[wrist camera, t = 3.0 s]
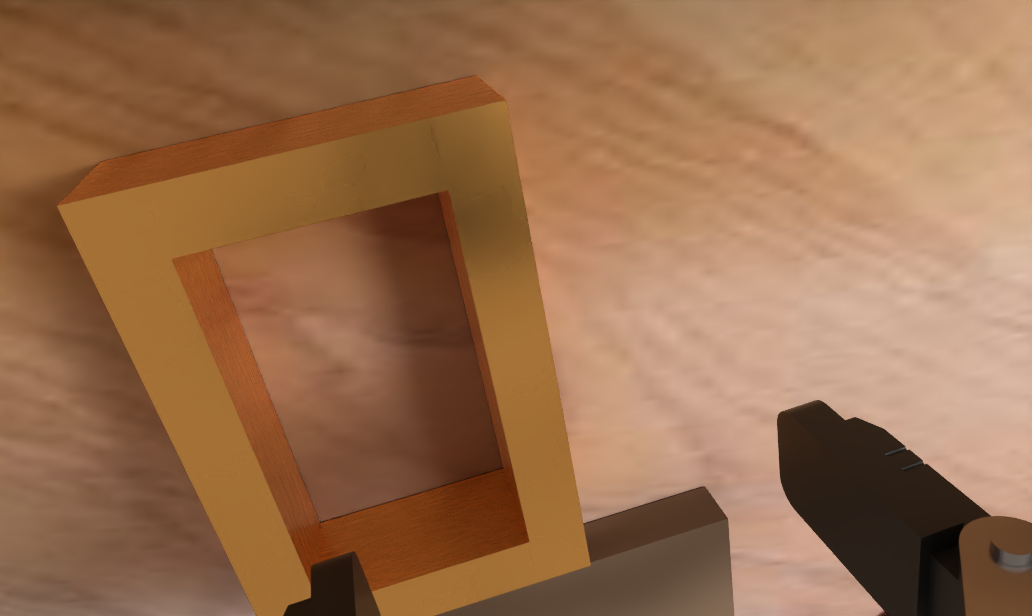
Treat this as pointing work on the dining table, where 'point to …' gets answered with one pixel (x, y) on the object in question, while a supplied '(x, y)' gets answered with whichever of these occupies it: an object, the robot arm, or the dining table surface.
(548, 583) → the keeper base
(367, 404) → the dining table surface
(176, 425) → the orange rectangular frame
